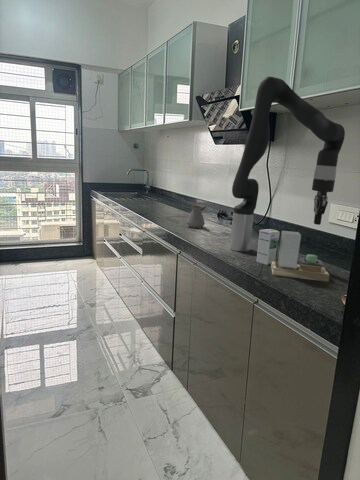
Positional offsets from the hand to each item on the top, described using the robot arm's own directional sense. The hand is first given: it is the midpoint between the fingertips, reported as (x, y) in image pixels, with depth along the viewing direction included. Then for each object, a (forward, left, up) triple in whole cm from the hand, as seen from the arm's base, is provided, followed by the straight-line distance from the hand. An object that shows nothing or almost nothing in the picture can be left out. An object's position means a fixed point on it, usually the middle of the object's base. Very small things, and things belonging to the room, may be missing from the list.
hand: (317, 224), depth 136 cm
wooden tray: (+11, -6, -19) cm, 23 cm away
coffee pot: (-68, -54, -19) cm, 89 cm away
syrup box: (-1, -17, -19) cm, 26 cm away
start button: (0, 0, -17) cm, 17 cm away
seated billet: (+11, -10, -18) cm, 23 cm away
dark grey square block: (0, 0, -19) cm, 19 cm away
